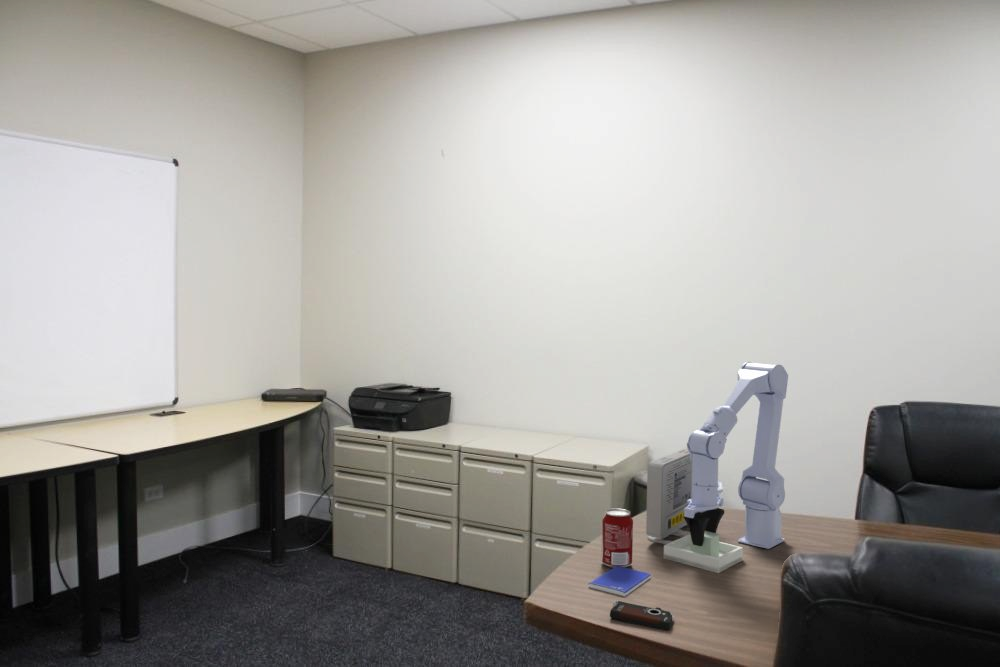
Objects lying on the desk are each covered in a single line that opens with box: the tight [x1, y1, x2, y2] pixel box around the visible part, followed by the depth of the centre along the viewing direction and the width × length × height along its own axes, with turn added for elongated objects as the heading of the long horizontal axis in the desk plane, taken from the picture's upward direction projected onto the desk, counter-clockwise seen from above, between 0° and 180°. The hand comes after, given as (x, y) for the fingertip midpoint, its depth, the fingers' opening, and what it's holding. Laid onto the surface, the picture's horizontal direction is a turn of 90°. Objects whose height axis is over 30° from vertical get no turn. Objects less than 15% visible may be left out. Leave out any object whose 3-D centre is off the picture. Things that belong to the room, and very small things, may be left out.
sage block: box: [690, 531, 720, 558], centre depth 175 cm, size 4×5×5 cm
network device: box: [645, 447, 692, 545], centre depth 194 cm, size 26×9×20 cm, turn 144°
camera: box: [609, 600, 675, 631], centre depth 143 cm, size 6×3×11 cm
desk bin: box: [663, 534, 744, 574], centre depth 175 cm, size 12×14×3 cm
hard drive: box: [588, 566, 651, 597], centre depth 161 cm, size 2×8×12 cm
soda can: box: [601, 507, 634, 569], centre depth 171 cm, size 7×7×12 cm
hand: (703, 542), depth 175 cm, fingers open, 5 cm apart
